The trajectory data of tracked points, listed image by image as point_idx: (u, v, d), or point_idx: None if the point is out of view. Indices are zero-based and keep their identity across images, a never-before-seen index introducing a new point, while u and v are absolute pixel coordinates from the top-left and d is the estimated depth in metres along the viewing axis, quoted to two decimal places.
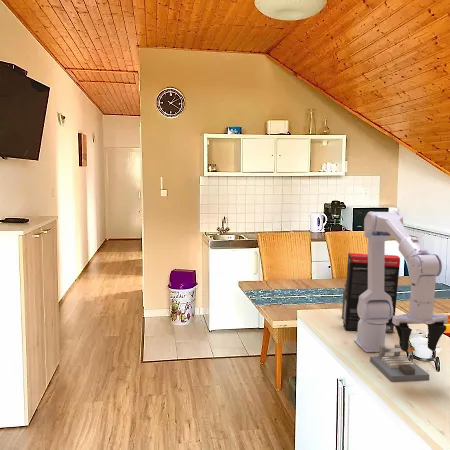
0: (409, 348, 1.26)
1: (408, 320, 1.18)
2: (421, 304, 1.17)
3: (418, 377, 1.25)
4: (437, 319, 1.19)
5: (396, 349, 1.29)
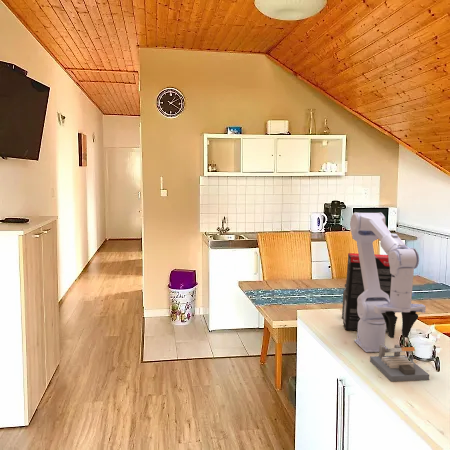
0: (409, 348, 1.26)
1: (388, 309, 1.28)
2: (400, 294, 1.27)
3: (418, 377, 1.25)
4: (415, 308, 1.29)
5: (396, 349, 1.29)
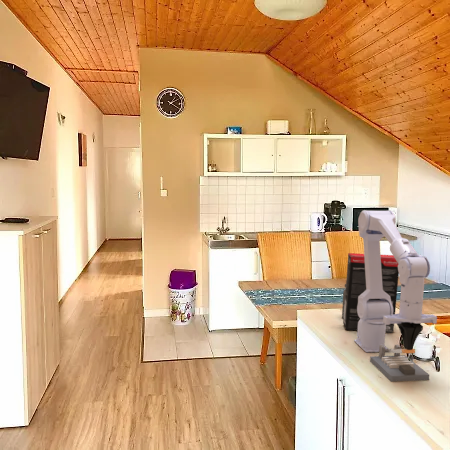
0: (409, 350, 1.25)
1: (398, 320, 1.23)
2: (410, 304, 1.22)
3: (418, 377, 1.25)
4: (426, 319, 1.24)
5: (396, 350, 1.29)
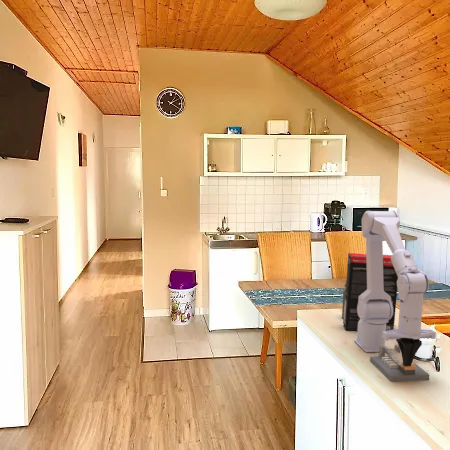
0: (410, 367, 1.25)
1: (397, 335, 1.23)
2: (409, 320, 1.23)
3: (418, 377, 1.25)
4: (425, 334, 1.24)
5: (397, 360, 1.29)
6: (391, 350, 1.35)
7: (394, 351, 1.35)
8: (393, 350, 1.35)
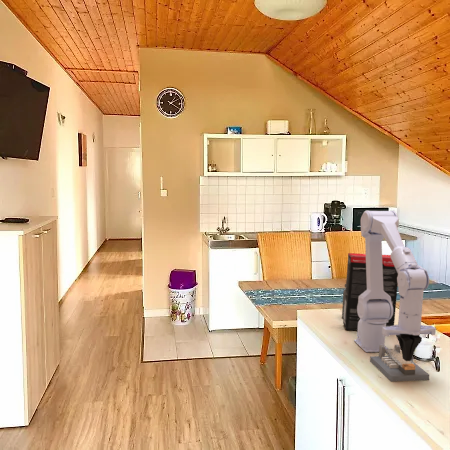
0: (410, 367, 1.25)
1: (397, 331, 1.24)
2: (409, 316, 1.23)
3: (418, 377, 1.25)
4: (425, 330, 1.24)
5: (397, 360, 1.29)
6: (391, 350, 1.35)
7: (394, 351, 1.35)
8: (393, 350, 1.35)
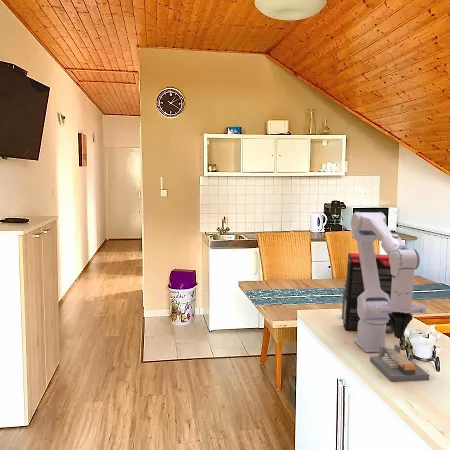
0: (410, 367, 1.25)
1: (389, 310, 1.28)
2: (401, 295, 1.27)
3: (418, 377, 1.25)
4: (416, 309, 1.29)
5: (397, 360, 1.29)
6: (391, 350, 1.35)
7: (394, 351, 1.35)
8: (393, 350, 1.35)
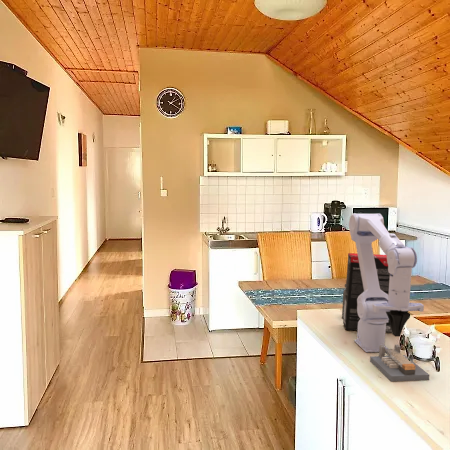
0: (410, 367, 1.25)
1: (387, 308, 1.29)
2: (398, 293, 1.28)
3: (418, 377, 1.25)
4: (413, 307, 1.30)
5: (397, 360, 1.29)
6: (391, 350, 1.35)
7: (394, 351, 1.35)
8: (393, 350, 1.35)
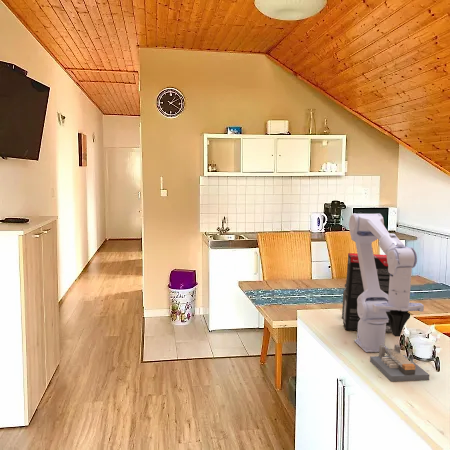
0: (410, 367, 1.25)
1: (387, 308, 1.29)
2: (398, 293, 1.28)
3: (418, 377, 1.25)
4: (413, 307, 1.30)
5: (397, 360, 1.29)
6: (391, 350, 1.35)
7: (394, 351, 1.35)
8: (393, 350, 1.35)
